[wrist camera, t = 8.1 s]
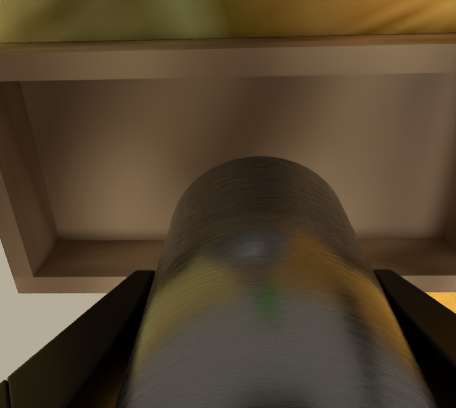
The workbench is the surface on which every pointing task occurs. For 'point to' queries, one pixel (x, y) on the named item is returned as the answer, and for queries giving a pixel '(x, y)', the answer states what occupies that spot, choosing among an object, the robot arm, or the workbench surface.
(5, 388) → the robot arm
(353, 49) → the trough
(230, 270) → the cell
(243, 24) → the workbench surface
